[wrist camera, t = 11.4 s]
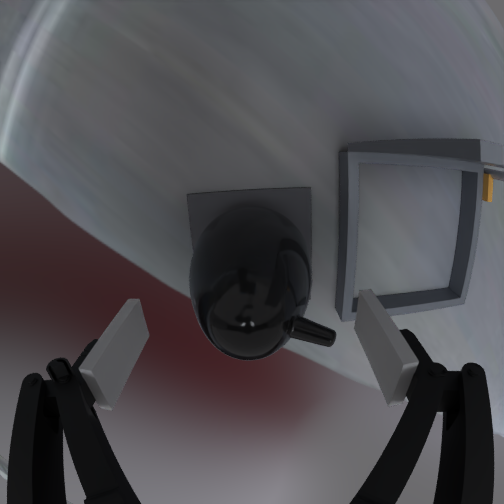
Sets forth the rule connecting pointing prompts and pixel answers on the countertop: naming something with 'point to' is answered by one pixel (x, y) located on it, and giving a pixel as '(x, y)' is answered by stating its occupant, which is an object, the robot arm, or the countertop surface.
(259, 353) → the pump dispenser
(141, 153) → the countertop surface
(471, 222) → the case
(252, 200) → the pad
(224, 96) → the countertop surface
